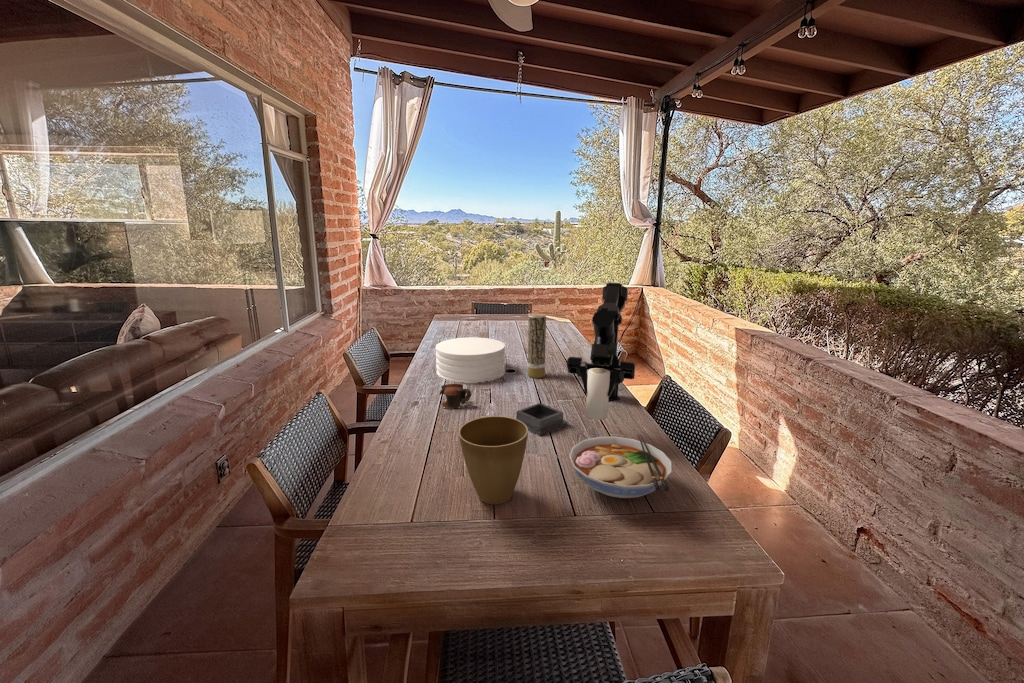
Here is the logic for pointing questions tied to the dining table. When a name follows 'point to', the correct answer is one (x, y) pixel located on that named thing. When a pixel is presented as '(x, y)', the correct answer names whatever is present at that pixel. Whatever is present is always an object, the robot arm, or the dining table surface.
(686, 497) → the dining table surface
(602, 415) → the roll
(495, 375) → the plate stack
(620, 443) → the ramen bowl
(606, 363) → the robot arm
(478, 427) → the plant pot
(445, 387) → the pottery mug
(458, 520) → the dining table surface
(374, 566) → the dining table surface
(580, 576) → the dining table surface
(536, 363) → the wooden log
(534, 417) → the holder
